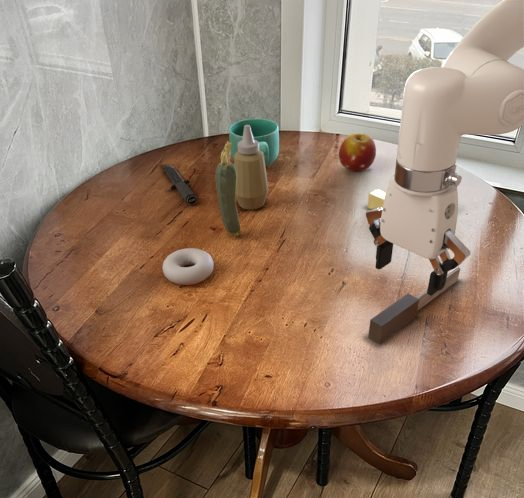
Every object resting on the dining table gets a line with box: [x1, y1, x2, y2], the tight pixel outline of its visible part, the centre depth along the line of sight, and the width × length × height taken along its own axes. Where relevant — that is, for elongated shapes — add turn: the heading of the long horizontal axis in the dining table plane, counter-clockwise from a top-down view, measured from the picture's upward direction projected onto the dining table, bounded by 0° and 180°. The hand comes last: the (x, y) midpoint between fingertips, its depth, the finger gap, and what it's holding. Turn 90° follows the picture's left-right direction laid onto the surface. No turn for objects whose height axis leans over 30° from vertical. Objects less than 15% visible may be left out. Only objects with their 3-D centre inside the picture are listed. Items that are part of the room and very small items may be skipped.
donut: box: [161, 247, 215, 286], centre depth 105 cm, size 10×4×10 cm
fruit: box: [338, 132, 377, 172], centre depth 135 cm, size 10×9×8 cm
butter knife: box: [367, 266, 461, 345], centre depth 94 cm, size 2×24×4 cm, turn 132°
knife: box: [163, 165, 198, 206], centre depth 134 cm, size 24×5×3 cm, turn 17°
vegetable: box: [214, 140, 242, 237], centre depth 109 cm, size 4×4×20 cm
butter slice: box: [367, 188, 387, 210], centre depth 120 cm, size 4×3×4 cm, turn 42°
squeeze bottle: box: [233, 125, 269, 211], centre depth 119 cm, size 8×8×18 cm
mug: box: [228, 118, 280, 167], centre depth 137 cm, size 17×13×10 cm
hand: (408, 277), depth 83 cm, fingers open, 9 cm apart
